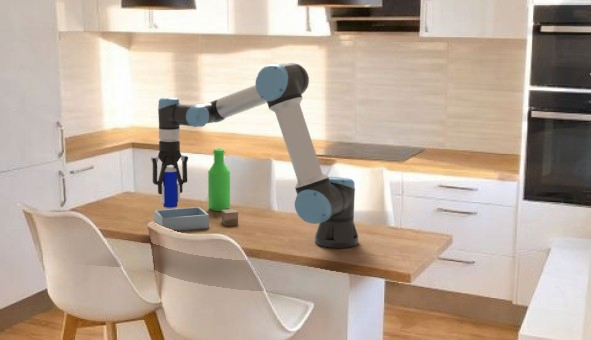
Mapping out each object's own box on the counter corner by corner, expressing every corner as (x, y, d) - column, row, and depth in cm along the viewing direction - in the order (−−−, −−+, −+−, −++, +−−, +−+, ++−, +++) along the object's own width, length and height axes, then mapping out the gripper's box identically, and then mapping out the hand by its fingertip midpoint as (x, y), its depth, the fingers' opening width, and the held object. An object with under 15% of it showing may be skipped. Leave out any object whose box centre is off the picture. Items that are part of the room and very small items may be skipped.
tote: (209, 227, 278) (209, 214, 277) (162, 232, 272) (162, 218, 271) (199, 219, 291) (199, 206, 290) (154, 223, 284) (154, 210, 283)
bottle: (211, 212, 303) (211, 151, 298) (206, 207, 311) (205, 148, 306) (232, 210, 306) (232, 150, 301) (226, 205, 314) (226, 147, 309)
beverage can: (180, 207, 280) (179, 167, 277) (172, 209, 275) (171, 169, 272) (168, 205, 282) (167, 166, 279) (160, 208, 277) (159, 168, 274)
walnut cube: (238, 224, 284) (238, 211, 283) (225, 225, 282) (225, 212, 281) (234, 221, 288) (234, 208, 288) (221, 222, 287) (221, 209, 286)
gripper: (191, 137, 281) (191, 198, 285) (142, 139, 274) (144, 201, 278) (196, 140, 274) (196, 202, 278) (146, 142, 267) (148, 206, 271)
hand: (170, 201), depth 278 cm, fingers closed on beverage can, 5 cm apart
